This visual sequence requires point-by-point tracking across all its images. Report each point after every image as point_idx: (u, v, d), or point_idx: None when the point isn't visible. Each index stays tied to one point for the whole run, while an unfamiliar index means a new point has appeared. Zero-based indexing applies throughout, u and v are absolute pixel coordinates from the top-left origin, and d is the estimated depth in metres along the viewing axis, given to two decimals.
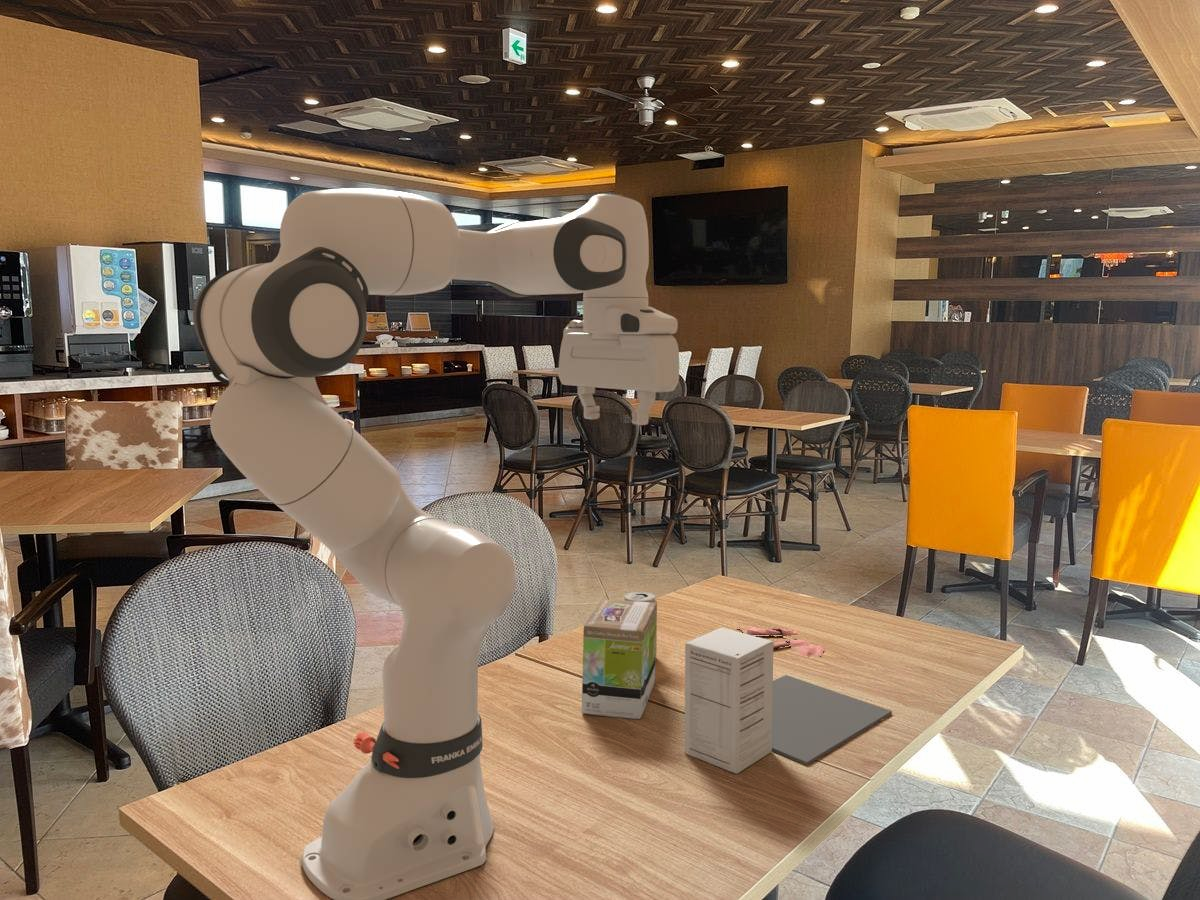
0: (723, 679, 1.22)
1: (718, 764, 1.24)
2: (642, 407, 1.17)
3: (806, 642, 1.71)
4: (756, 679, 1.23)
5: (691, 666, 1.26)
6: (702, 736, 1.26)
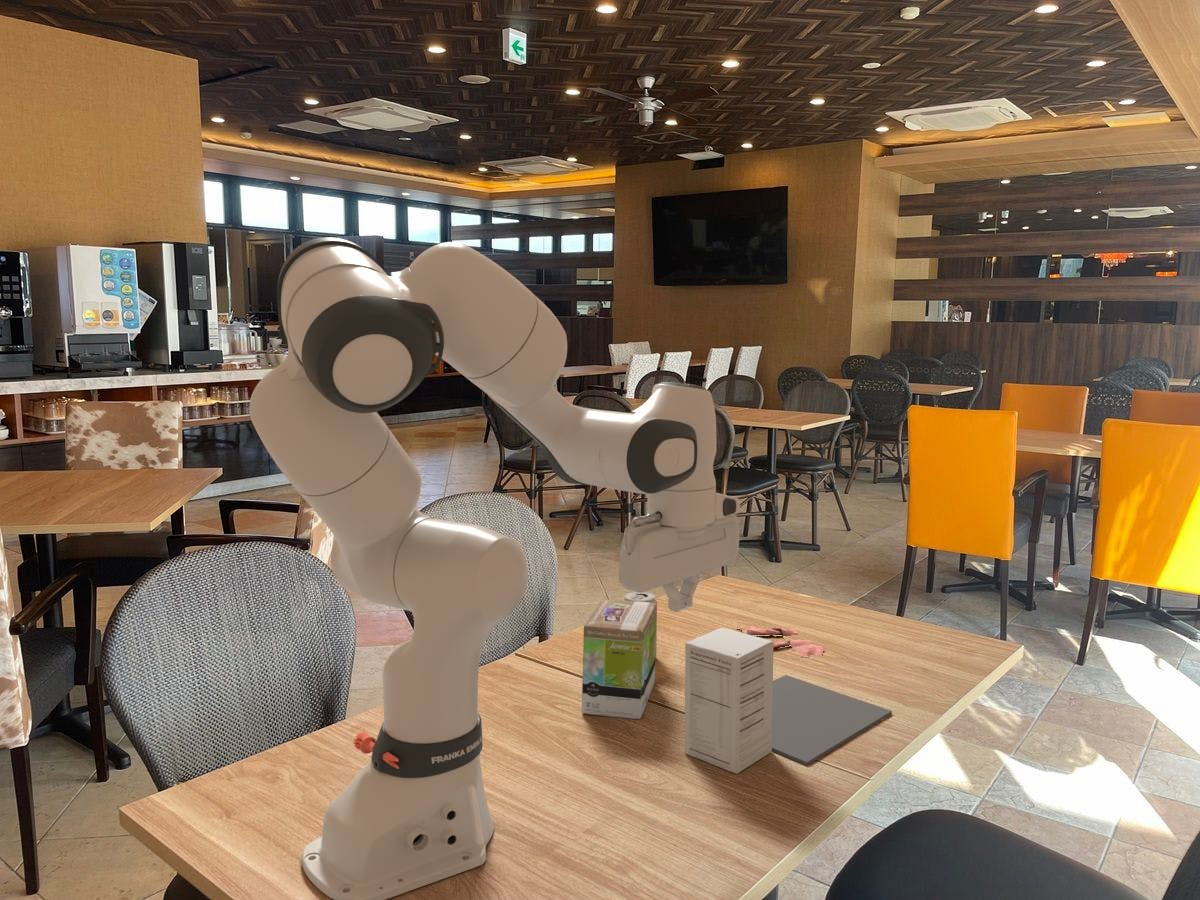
0: (723, 679, 1.22)
1: (718, 764, 1.24)
2: (695, 589, 1.18)
3: (806, 642, 1.71)
4: (756, 679, 1.23)
5: (691, 666, 1.26)
6: (702, 736, 1.26)
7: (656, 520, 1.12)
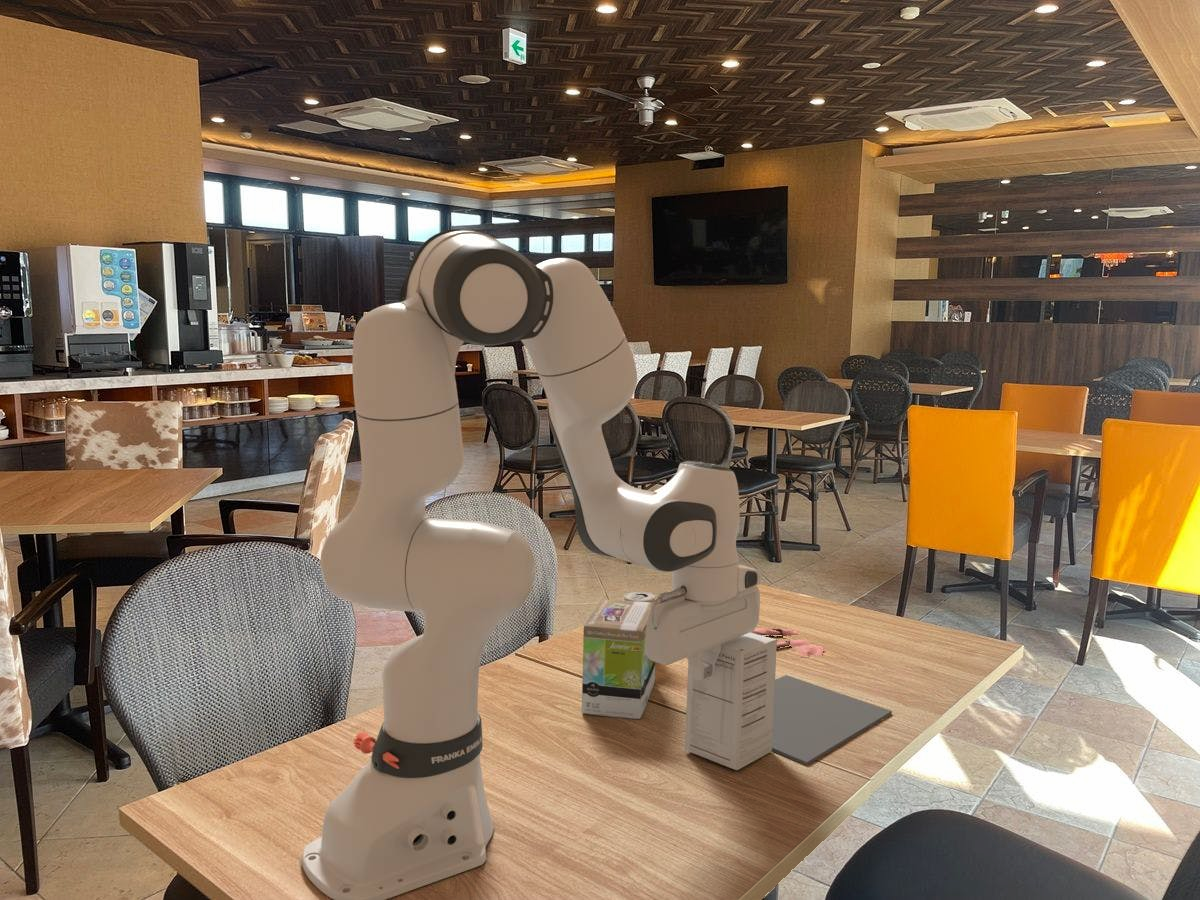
0: (727, 674, 1.22)
1: (718, 760, 1.24)
2: (717, 658, 1.22)
3: (806, 642, 1.71)
4: (758, 676, 1.24)
5: None
6: (703, 732, 1.26)
7: (681, 595, 1.16)
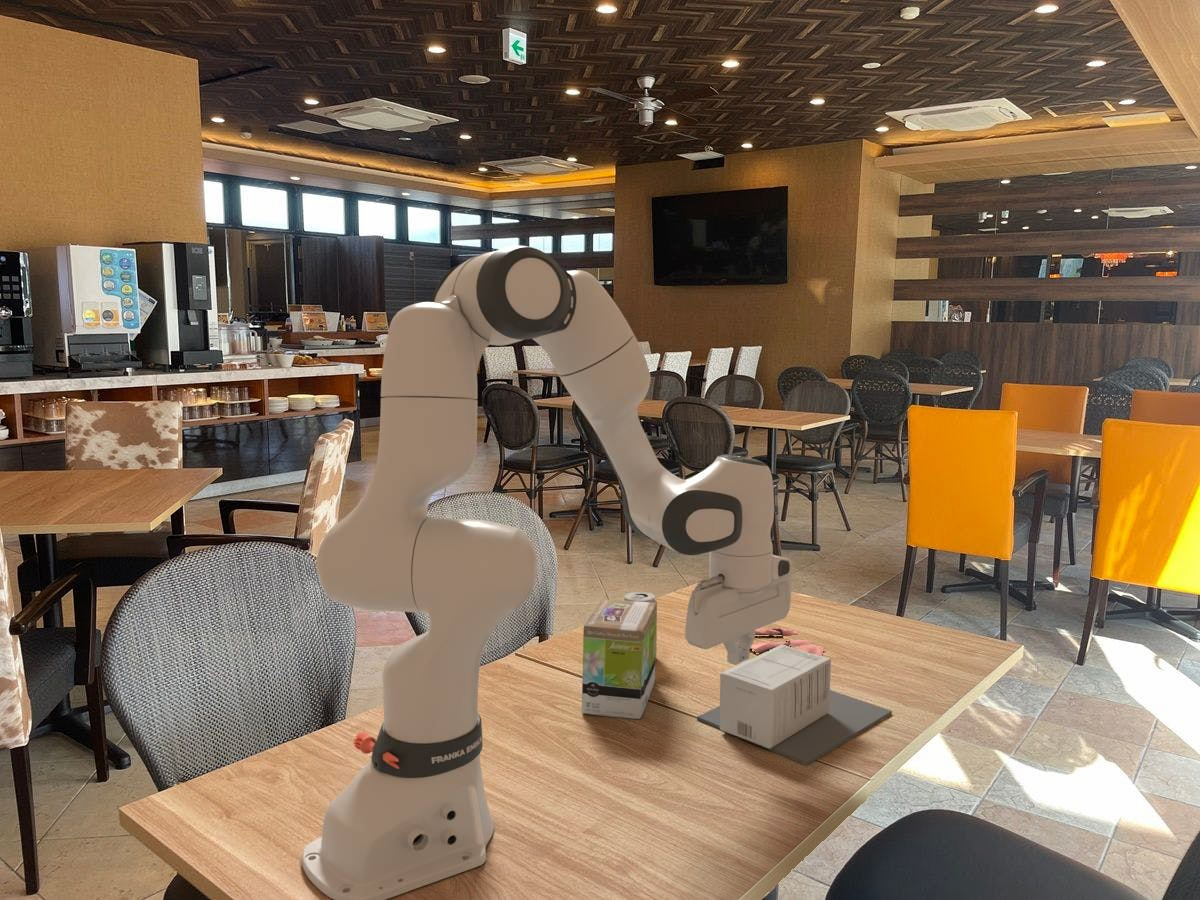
0: (806, 660, 1.38)
1: (756, 683, 1.29)
2: None
3: (806, 642, 1.71)
4: (817, 692, 1.36)
5: (777, 650, 1.42)
6: (752, 671, 1.33)
7: (719, 582, 1.22)
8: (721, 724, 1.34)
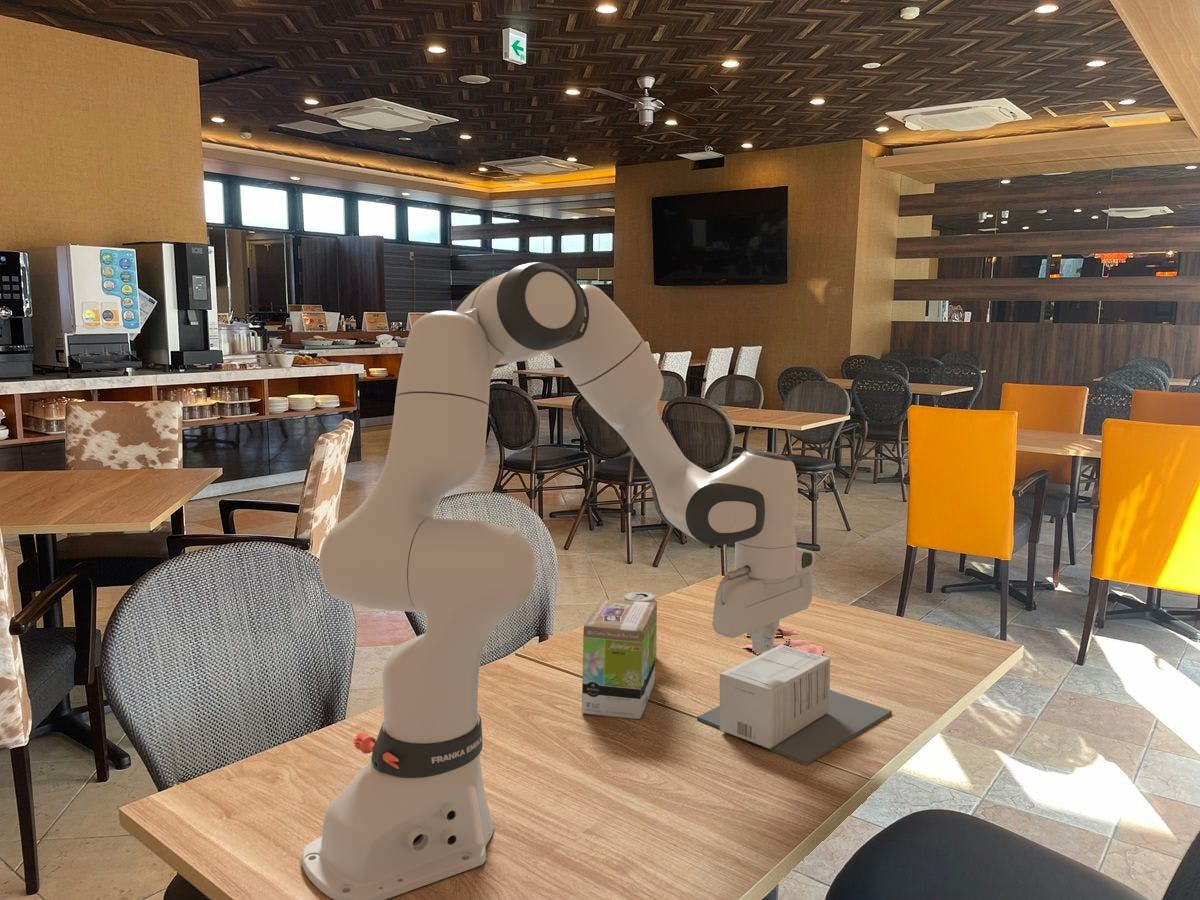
0: (806, 660, 1.38)
1: (755, 683, 1.29)
2: None
3: (806, 642, 1.71)
4: (816, 692, 1.36)
5: (776, 650, 1.42)
6: (752, 671, 1.33)
7: (745, 573, 1.26)
8: (721, 724, 1.34)
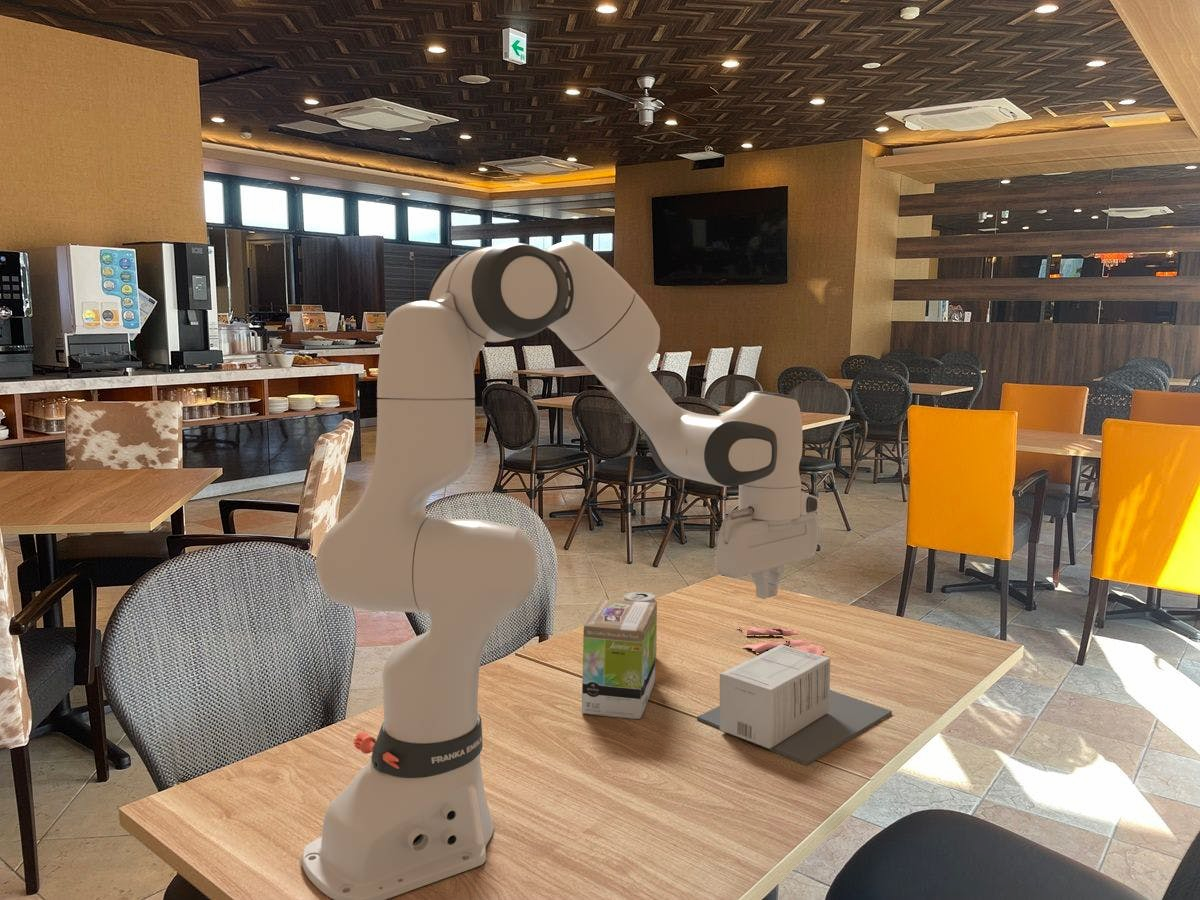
0: (806, 660, 1.38)
1: (755, 683, 1.29)
2: None
3: (806, 642, 1.71)
4: (816, 692, 1.36)
5: (776, 650, 1.42)
6: (752, 671, 1.33)
7: (749, 514, 1.25)
8: (721, 724, 1.34)
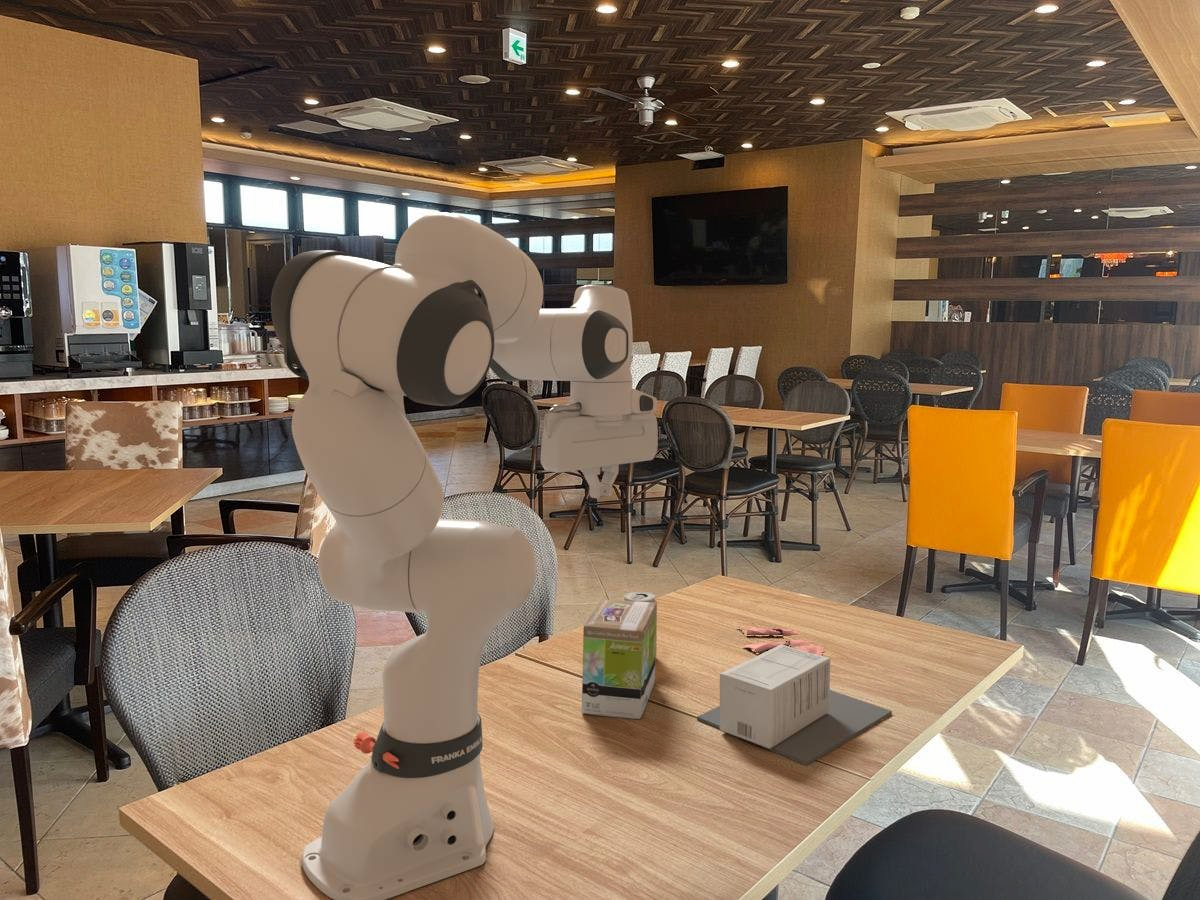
0: (806, 660, 1.38)
1: (755, 683, 1.29)
2: None
3: (806, 642, 1.71)
4: (816, 692, 1.36)
5: (776, 650, 1.42)
6: (752, 671, 1.33)
7: (576, 409, 1.23)
8: (721, 724, 1.34)
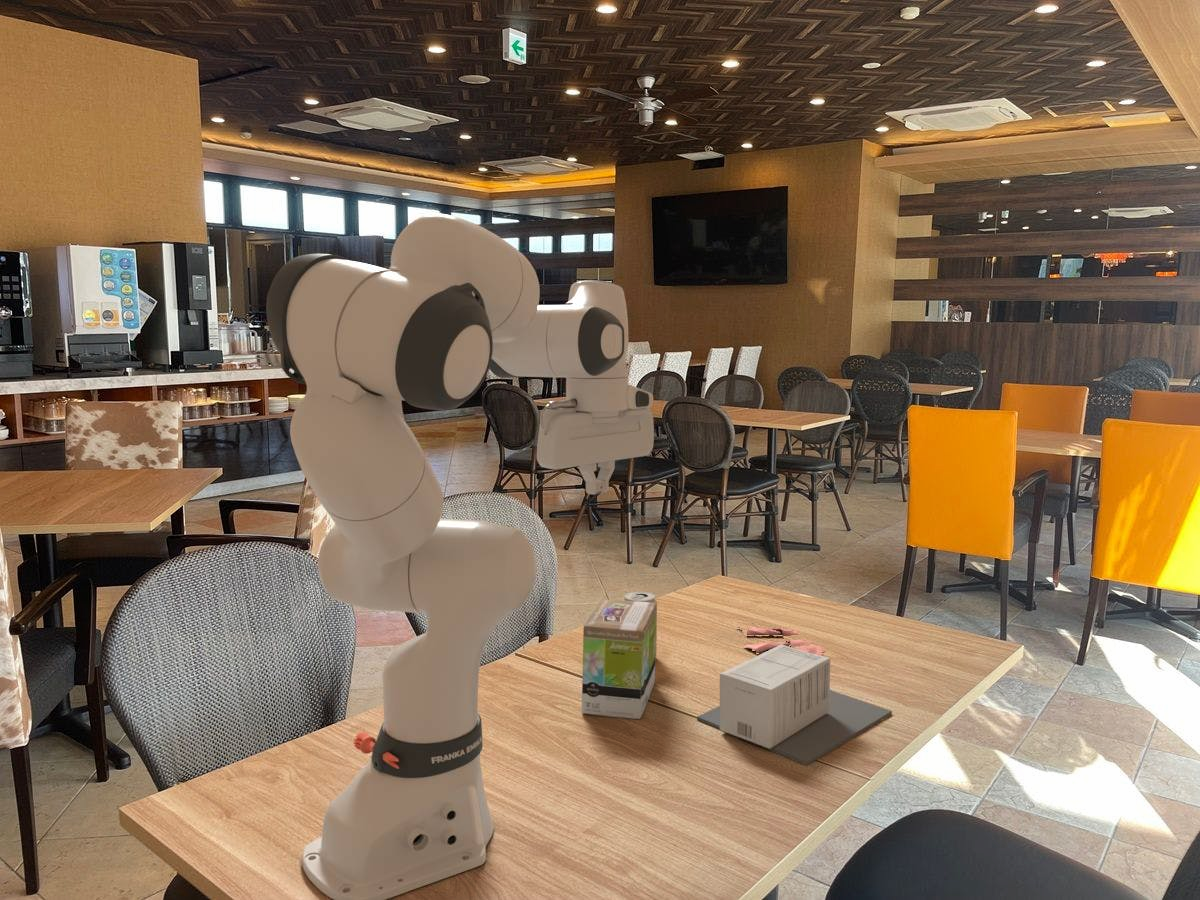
0: (806, 660, 1.38)
1: (755, 683, 1.29)
2: None
3: (806, 642, 1.71)
4: (816, 692, 1.36)
5: (776, 650, 1.42)
6: (752, 671, 1.33)
7: (571, 406, 1.23)
8: (721, 724, 1.34)
